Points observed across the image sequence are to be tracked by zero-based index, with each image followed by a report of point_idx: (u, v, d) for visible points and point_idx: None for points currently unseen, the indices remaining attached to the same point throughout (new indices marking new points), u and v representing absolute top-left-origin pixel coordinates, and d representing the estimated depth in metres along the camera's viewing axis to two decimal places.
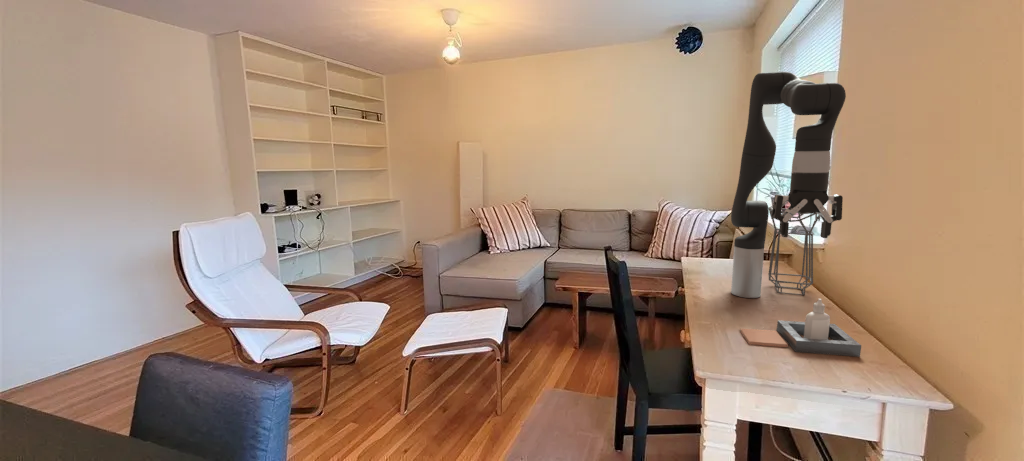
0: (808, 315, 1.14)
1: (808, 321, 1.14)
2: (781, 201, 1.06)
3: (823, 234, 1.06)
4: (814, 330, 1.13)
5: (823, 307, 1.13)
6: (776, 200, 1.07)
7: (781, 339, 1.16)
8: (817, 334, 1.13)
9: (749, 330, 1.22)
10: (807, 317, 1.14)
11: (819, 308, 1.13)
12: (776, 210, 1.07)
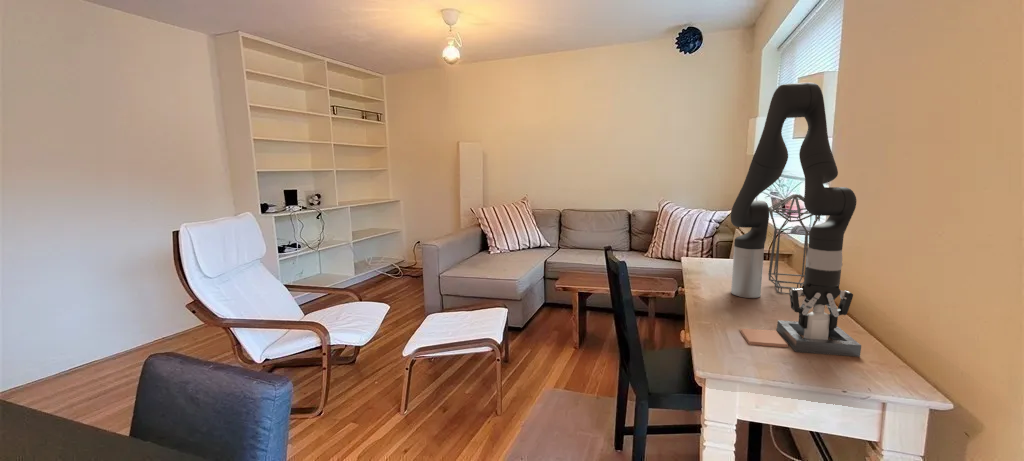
0: (808, 315, 1.14)
1: (808, 321, 1.14)
2: (796, 295, 1.13)
3: (830, 326, 1.13)
4: (814, 330, 1.13)
5: (823, 307, 1.13)
6: (791, 294, 1.14)
7: (781, 339, 1.16)
8: (817, 334, 1.13)
9: (749, 330, 1.22)
10: None
11: (819, 308, 1.13)
12: (794, 304, 1.14)
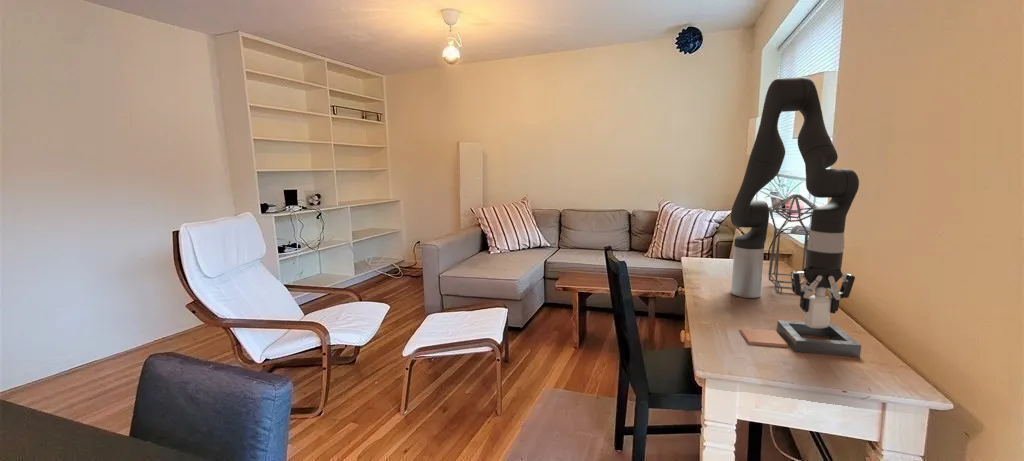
0: (809, 298, 1.13)
1: (809, 304, 1.13)
2: (798, 278, 1.13)
3: (831, 309, 1.13)
4: (815, 313, 1.13)
5: (825, 290, 1.12)
6: (793, 278, 1.14)
7: (781, 339, 1.16)
8: (819, 317, 1.13)
9: (749, 330, 1.22)
10: None
11: (821, 291, 1.12)
12: (795, 287, 1.13)
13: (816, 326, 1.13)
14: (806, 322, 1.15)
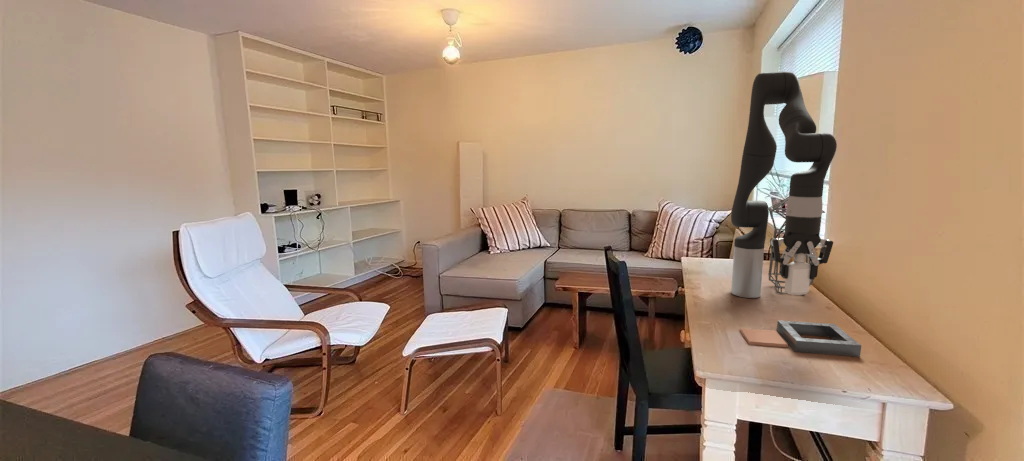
0: (789, 265, 1.13)
1: (789, 271, 1.13)
2: (777, 245, 1.12)
3: (810, 276, 1.13)
4: (795, 279, 1.12)
5: (804, 256, 1.12)
6: (772, 244, 1.13)
7: (781, 339, 1.16)
8: (798, 283, 1.12)
9: (749, 330, 1.22)
10: (788, 267, 1.13)
11: (800, 257, 1.12)
12: (775, 254, 1.13)
13: (796, 292, 1.13)
14: (786, 289, 1.14)
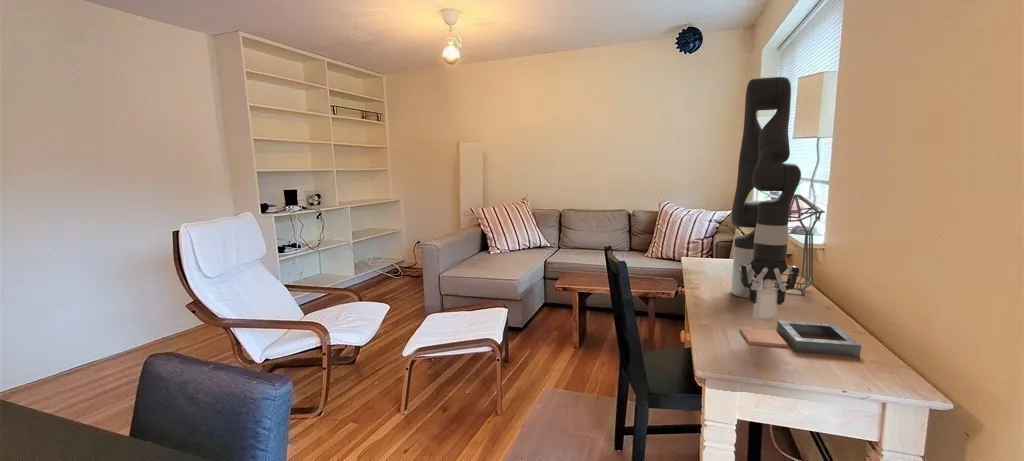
0: (757, 290, 1.16)
1: (757, 296, 1.16)
2: (745, 271, 1.15)
3: (778, 301, 1.15)
4: (762, 305, 1.15)
5: (771, 282, 1.15)
6: (740, 270, 1.16)
7: (781, 339, 1.16)
8: (766, 308, 1.15)
9: (749, 330, 1.22)
10: (756, 292, 1.16)
11: (767, 283, 1.15)
12: (743, 279, 1.16)
13: (763, 317, 1.16)
14: (754, 313, 1.17)
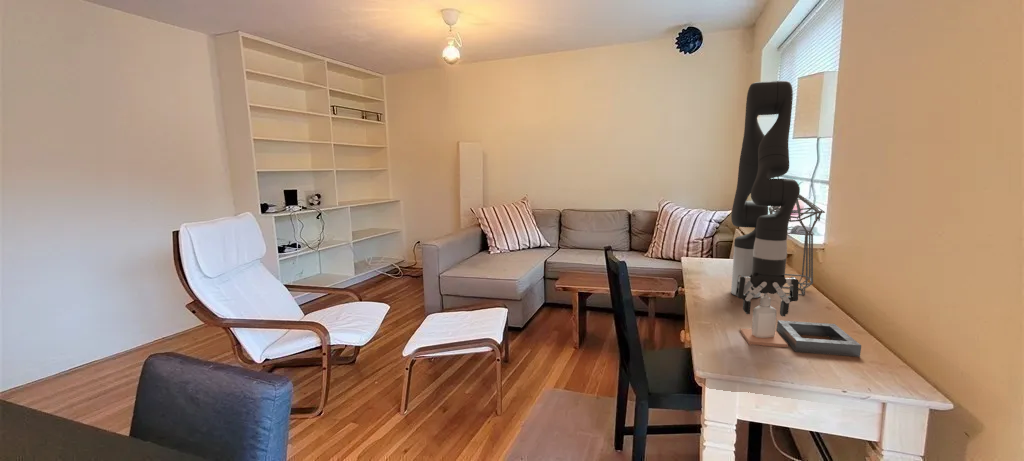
0: (755, 309, 1.17)
1: (755, 314, 1.17)
2: (743, 282, 1.16)
3: (782, 313, 1.16)
4: (760, 323, 1.16)
5: (769, 301, 1.16)
6: (739, 280, 1.17)
7: (781, 339, 1.16)
8: (764, 327, 1.16)
9: (749, 330, 1.22)
10: (754, 311, 1.17)
11: (765, 302, 1.16)
12: (739, 290, 1.17)
13: (762, 336, 1.17)
14: (753, 332, 1.18)
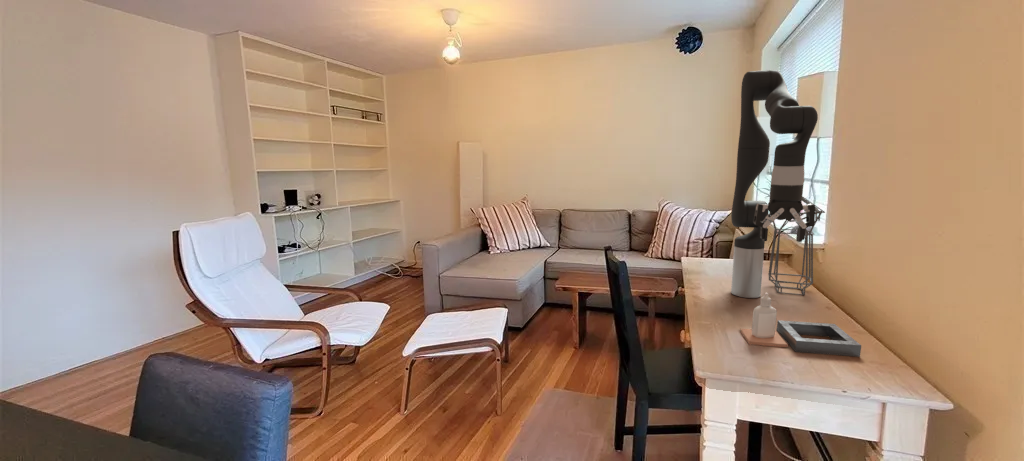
0: (755, 309, 1.17)
1: (755, 315, 1.17)
2: (761, 209, 1.20)
3: (798, 238, 1.20)
4: (760, 323, 1.16)
5: (769, 301, 1.16)
6: (757, 208, 1.21)
7: (781, 339, 1.16)
8: (764, 327, 1.16)
9: (749, 330, 1.22)
10: (754, 311, 1.17)
11: (765, 302, 1.16)
12: (757, 217, 1.21)
13: (762, 336, 1.17)
14: (753, 332, 1.18)
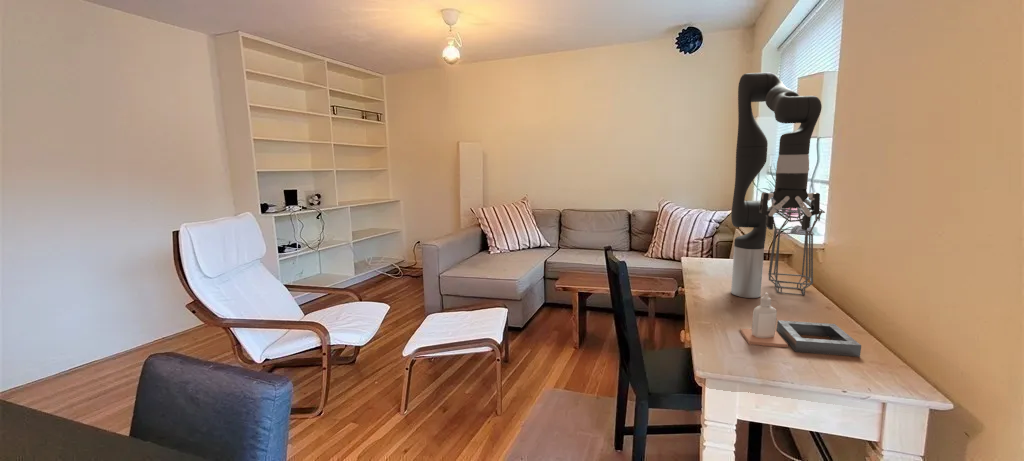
0: (755, 309, 1.17)
1: (755, 315, 1.17)
2: (767, 198, 1.22)
3: (803, 226, 1.22)
4: (760, 323, 1.16)
5: (769, 301, 1.16)
6: (762, 197, 1.23)
7: (781, 339, 1.16)
8: (764, 327, 1.16)
9: (749, 330, 1.22)
10: (754, 311, 1.17)
11: (765, 302, 1.16)
12: (763, 206, 1.23)
13: (762, 336, 1.17)
14: (753, 332, 1.18)
